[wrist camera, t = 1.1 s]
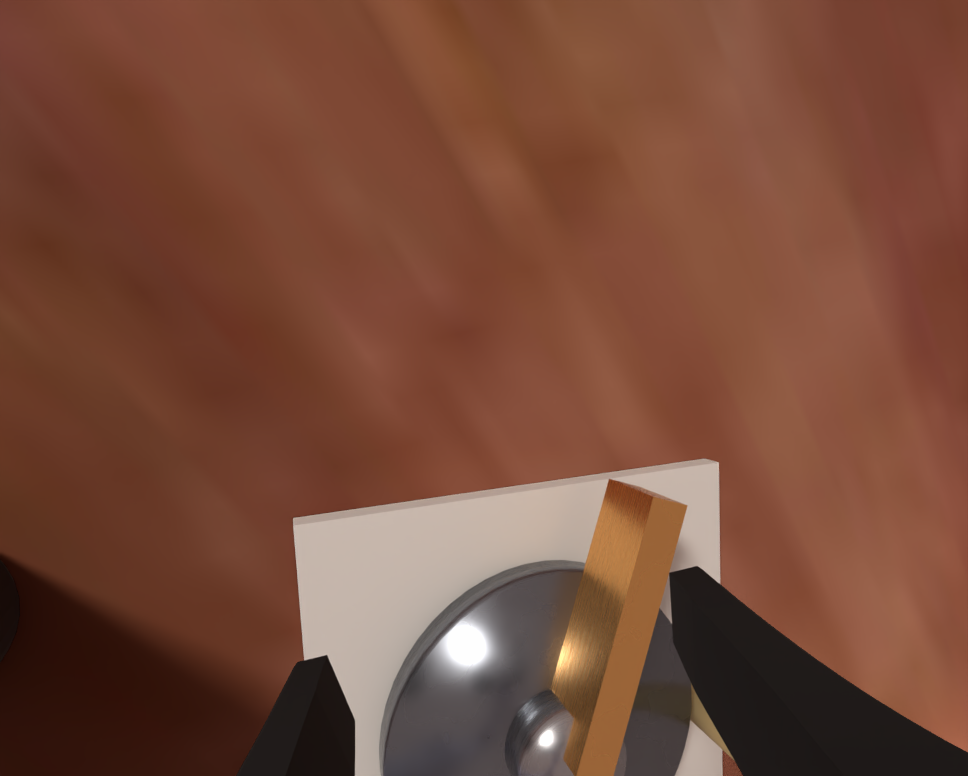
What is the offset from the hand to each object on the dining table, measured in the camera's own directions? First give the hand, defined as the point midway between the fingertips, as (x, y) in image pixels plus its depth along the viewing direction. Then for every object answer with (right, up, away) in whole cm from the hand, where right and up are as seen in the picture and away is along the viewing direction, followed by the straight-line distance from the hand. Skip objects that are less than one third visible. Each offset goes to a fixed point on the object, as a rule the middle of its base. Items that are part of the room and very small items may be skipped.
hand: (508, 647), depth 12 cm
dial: (+2, -7, +13) cm, 15 cm away
